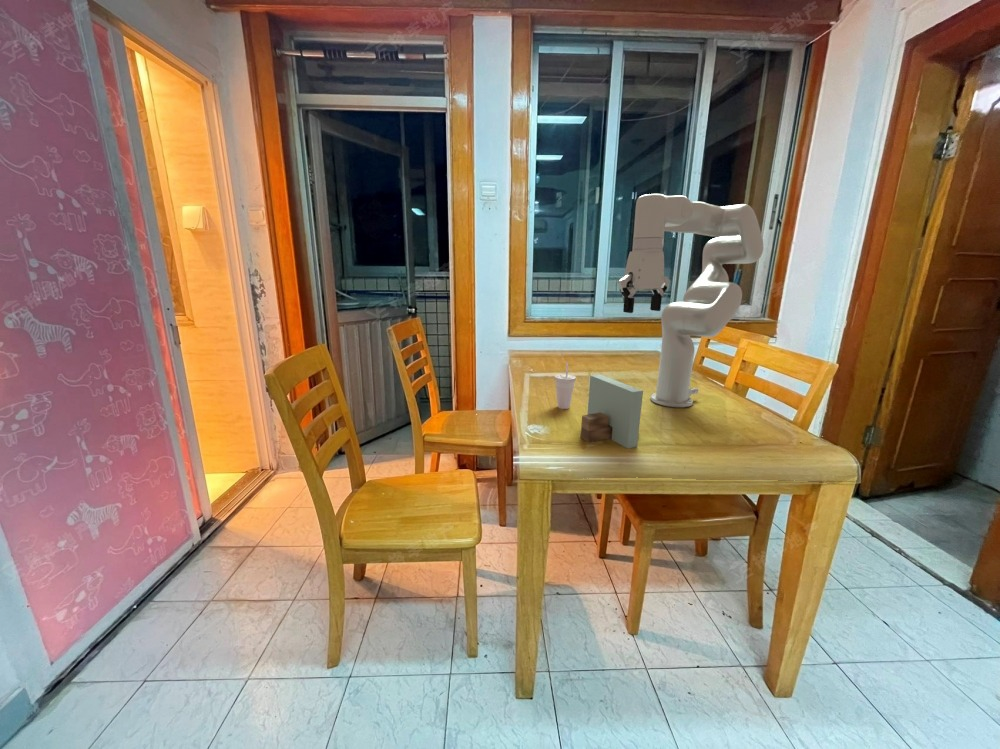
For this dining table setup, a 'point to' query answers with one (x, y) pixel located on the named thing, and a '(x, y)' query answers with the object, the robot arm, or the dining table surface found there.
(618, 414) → the cross plate
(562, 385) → the smoothie
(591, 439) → the brown long block
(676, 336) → the robot arm
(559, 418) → the dining table surface
